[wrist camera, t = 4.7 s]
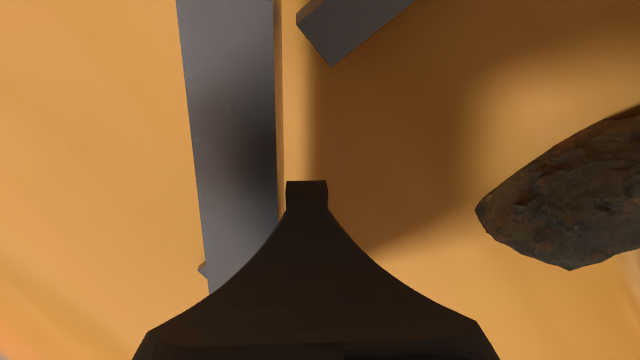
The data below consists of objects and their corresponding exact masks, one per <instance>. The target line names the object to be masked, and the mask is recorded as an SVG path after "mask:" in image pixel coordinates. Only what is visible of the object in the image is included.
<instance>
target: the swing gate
mask: <svg viewBox="0 0 640 360" xmlns="http://www.w3.org/2000/svg"><path fill="white" fill-rule="evenodd" d="M176 8H177V17H178V25H179V34H180V43H181V52H182V60H183V69H184V78H185V87H186V95H187V104H188V113H189V122H190V130H191V139H192V148H193V156H194V165H195V174H196V183H197V191H198V200H199V209H200V218H201V226H202V235H203V244H204V252H205V261H206V270H207V279H208V287H209V295H210V294H212V293H213V292H214V291H216V290H217V289H218V288H220V287H221V286H222V285H223V284H225V283H226V282H227V281H228V280H229V279H230V278H231V277H232V276H233V275H235V274H236V273H237V272H238V271H239V270H240V269H241V268H242V267H243V266H244V265H245V264H246V263H247V262H248V261H249V260H250V259H251V258H252V257H253V255H254V254H255V253H256V252H257V251H258V250H259V249H260V247H261V246H262V245H263V244H264V242H265V241H266V240H267V238H268V237H269V236H270V234H271V233H272V231H273V230H274V229H275V227H276V226H277V224H278V223H279V221H280V220H281V218H282V216H283V214H284V213H285V205H284V145H283V85H282V25H281V0H176Z"/></svg>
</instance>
